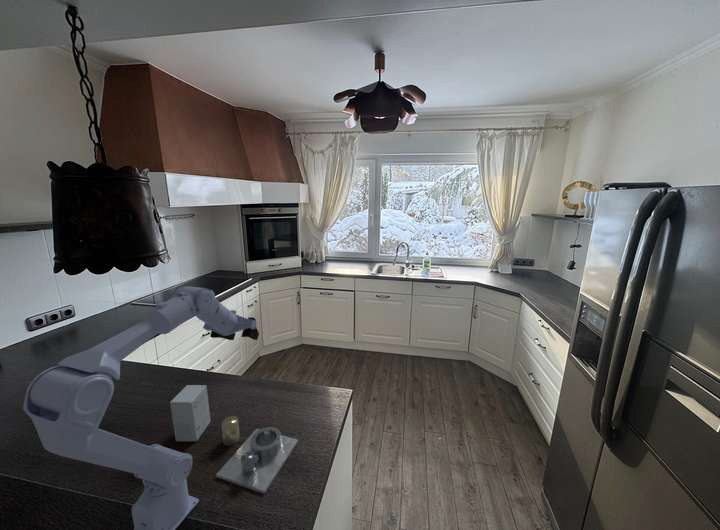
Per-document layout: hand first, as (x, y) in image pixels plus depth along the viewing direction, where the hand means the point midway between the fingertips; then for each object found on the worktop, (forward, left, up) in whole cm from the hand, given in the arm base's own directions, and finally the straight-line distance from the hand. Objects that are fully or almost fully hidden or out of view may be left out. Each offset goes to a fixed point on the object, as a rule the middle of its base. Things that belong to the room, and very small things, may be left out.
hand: (245, 336), depth 84 cm
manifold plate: (-10, -10, -29) cm, 33 cm away
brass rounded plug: (-7, +2, -29) cm, 30 cm away
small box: (-8, +15, -30) cm, 34 cm away
